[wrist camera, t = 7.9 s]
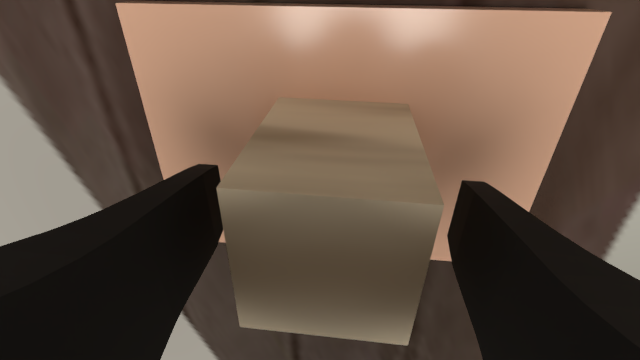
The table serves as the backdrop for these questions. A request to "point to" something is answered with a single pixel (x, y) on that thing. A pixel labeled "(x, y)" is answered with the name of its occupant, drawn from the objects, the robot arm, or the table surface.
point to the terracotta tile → (367, 80)
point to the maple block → (331, 220)
